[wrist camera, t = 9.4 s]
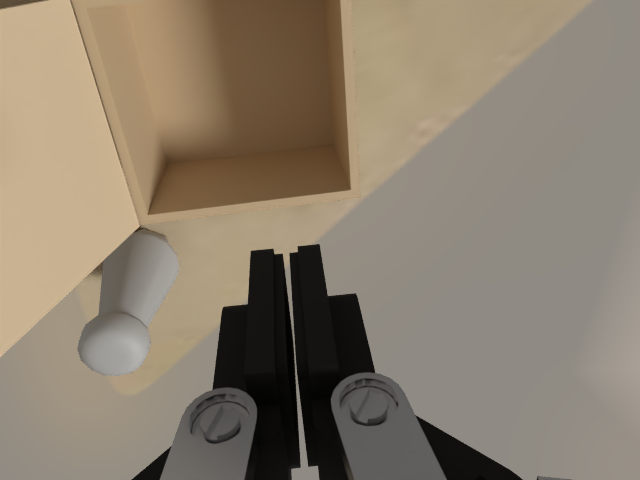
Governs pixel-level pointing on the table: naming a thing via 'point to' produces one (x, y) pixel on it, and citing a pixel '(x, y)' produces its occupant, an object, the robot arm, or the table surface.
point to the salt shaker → (128, 303)
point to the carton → (227, 101)
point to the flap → (52, 166)
